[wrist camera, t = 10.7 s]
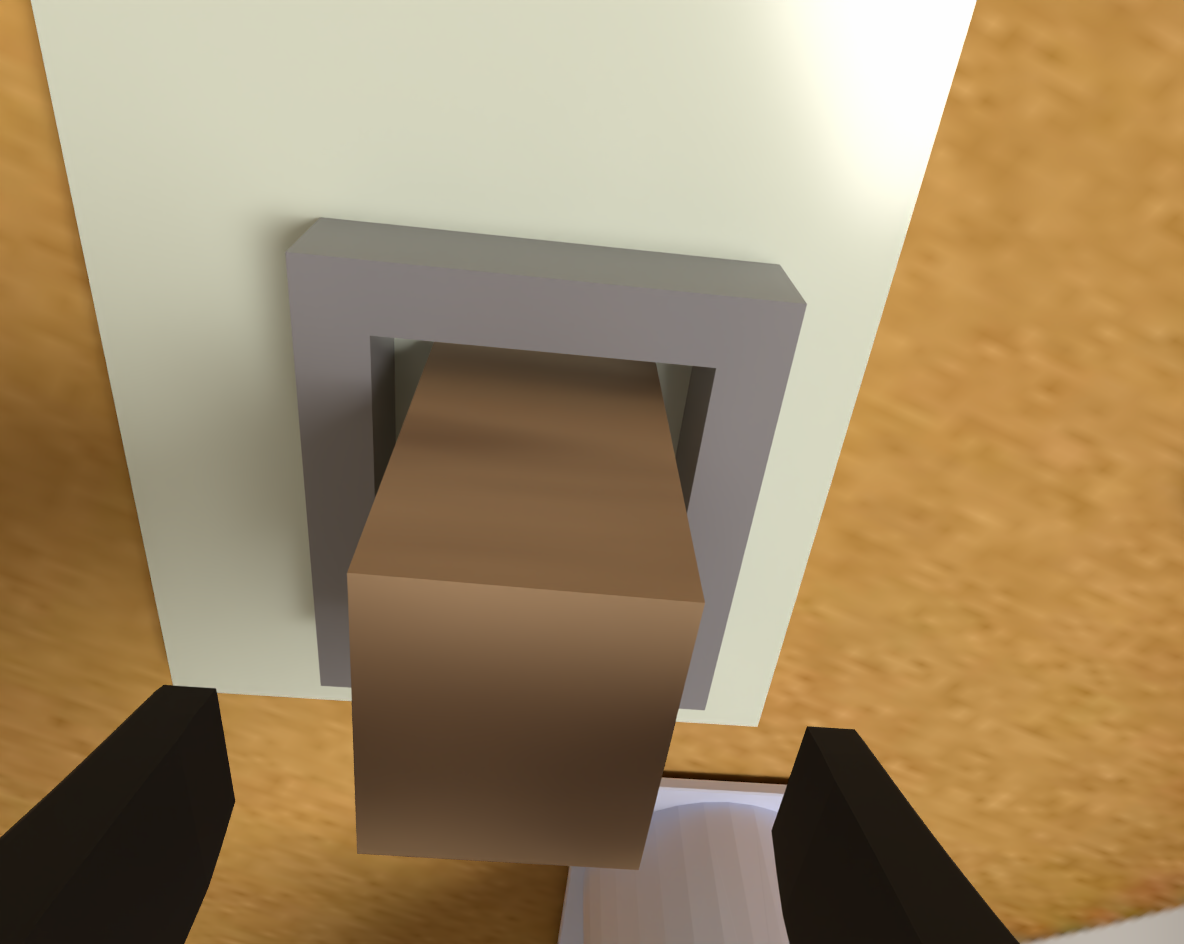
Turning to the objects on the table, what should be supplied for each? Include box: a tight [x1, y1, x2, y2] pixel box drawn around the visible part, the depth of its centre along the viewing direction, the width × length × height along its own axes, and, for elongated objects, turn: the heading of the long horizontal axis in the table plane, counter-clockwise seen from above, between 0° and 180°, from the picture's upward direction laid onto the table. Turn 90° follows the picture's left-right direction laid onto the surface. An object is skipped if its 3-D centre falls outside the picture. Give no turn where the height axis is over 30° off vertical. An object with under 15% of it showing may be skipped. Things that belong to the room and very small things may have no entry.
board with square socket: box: [31, 0, 977, 727], centre depth 15 cm, size 18×14×3 cm
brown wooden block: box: [347, 342, 705, 870], centre depth 14 cm, size 5×4×7 cm
